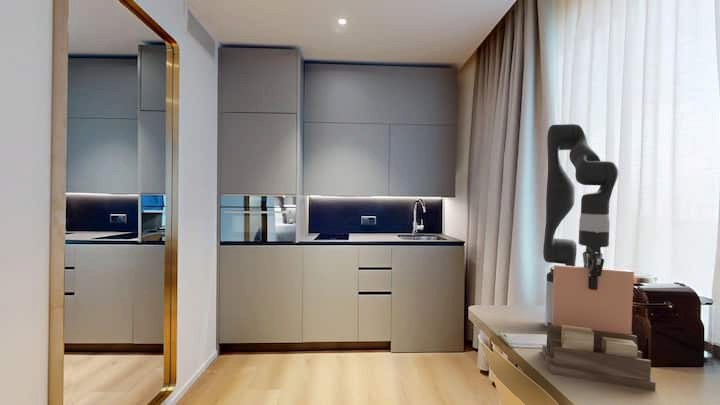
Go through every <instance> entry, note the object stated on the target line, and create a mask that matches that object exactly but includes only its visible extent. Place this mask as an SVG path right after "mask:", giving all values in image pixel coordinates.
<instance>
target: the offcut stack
mask: <svg viewBox="0 0 720 405" xmlns="http://www.w3.org/2000/svg"><path fill="white" fill-rule="evenodd" d="M593 345H594V332H593V331H592V330H591V329H590V328H585V327H577V326H568V325H562V339H561V348H568V349H575V350H582V351H590V352H593ZM637 351H638V344H637V345H636V344H635V343H634V342H633V341H631V340H623V339H615V338H607V337H602V353H604V354H611V355H618V356H625V357H633V358H637Z"/></svg>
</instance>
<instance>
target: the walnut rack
mask: <svg viewBox="0 0 720 405" xmlns="http://www.w3.org/2000/svg"><path fill="white" fill-rule="evenodd" d="M592 331H593V332H594V345H593V352H590V351H582V350H575V349H568V348H561V339H562V326H554V325H552V322H549V321H547V327H546V335H547V346H545V345H542V349H541V352H542V355H543V357H544V360H545V363H546V366H547V369H548V368H549V369H548V371H550V372H549V374H550V373H553V374H552V375H556V374H559V375H558V376H562V375H563V376H564V377H571V378H575V379H581V380H589V381H595V382H601V383H608V384H615V385H619V386H626V387H631V388H637V389H644V390H649V391H656V386H657V385H656V384H657V383H656V381H655V380H654V379H653V378H652V377H651V374H652V373H651V370H652V360H650V359H647V358H646V359H645V358H643V355H642V354H643V352H642V351H640V350H637V358H633V357H625V356H618V355H611V354H604V353H602V337H607V338H615V339H623V340H631V341H633V342H634V343H635V344H636V345H637V346H638V336H637V335H634V334H633V331H631V335H627V334H619V333H611V332H603V331H595V330H592Z"/></svg>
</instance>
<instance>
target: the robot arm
mask: <svg viewBox="0 0 720 405" xmlns="http://www.w3.org/2000/svg"><path fill="white" fill-rule="evenodd" d="M546 142H547V144H546V146H547V147H546V148H547V149H546V150H547V181H546V194H545V195H546V196H545V197H546V198H545V205H546V206H545V214H546V215H545V228H544V229H545V230H544V238H543V240H544V241H543V249H542V253H543V259H544V262H546V263H549V264H550V263H551V264H558V265H559V264H561V265H564V266H576V262H577V261H576V260H577V243H576V241H575V240H574V239H569V238H554V236H555V234H556V231H557V229H558V227H559V226H560V225H561V223H562V221H563V220H564V219H565V218H566V216H568V214H569V213H570V212H571V211H572V209H573V207H574V205H575V198H576V197H575V193H576V187H575V184H574V181H573V179H572V178H571V176H570V175H569V174H568V172H567V171H566V169H565V168H564V166H563V164H562V161H561V158H560V153H559V152H560V151H570V152H569V160H570V163H571V164H572V165H573V166H574V168H575V179H576V182H577V183H578V184H580V185H583V186H599V188H598V190H597V191H595V192H590V193H586V194H583V195H582V196H581V198H580V199H581V200H580V217H579V227H578V244H579V245H580V246H585V250H584V251H583V252H582V259H583V261H582V262H583V267H587V268H588V269H589V273H588V275H589V281H588V288H589V289H590V290H597V288H598V277H599V276H601V273H602V268H603V269H604V265H605V264H604V263H605V258H603V253H602V251H601V248H607V247H609V245H610V244H609V243H610V203H611V202H610V201H611V197H612V194H613V191H614V187H615V185H616V183H617V180H618V176H619V168H618V167H617V165H616V163H614V162H612V161H608V160H607V161H605V160H603V161H601V158H600V156H599V155H598V154H597V153H596V151H595V150H594V149H593V148H592V147H591V145H590V143H589V140H588V138H587V135H586V133H585V131H584V129H583V127H582V126H581V125H580V124H575V123H568V124H567V123H565V124H552V125H550V126H549V127H548V131H547V141H546ZM594 270H596V271H594ZM553 277H554V270H553V271H549V272H548V273H547V274H546V282H545V283H546V284H545V286H546V287H545V310H544V312H545V314H544V315H545V316H544V326H545V327H546V328H547V321H549V322H552V304H553Z"/></svg>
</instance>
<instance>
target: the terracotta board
mask: <svg viewBox="0 0 720 405" xmlns="http://www.w3.org/2000/svg"><path fill="white" fill-rule="evenodd" d="M553 271H554V277H553V304H552V325H554V326H562V325H568V326H577V327H585V328H590V329H591V330H595V331H603V332H611V333H619V334H627V335H631V332H632V328H633V327H632V324H633V303H634V302H633V299H634V279H635V277H634V276H635V274H634V273H635V271H633V270H629V269H628V270H626V269H615V268H613V269H612V268H604V267H603V268H602V273H601V276H599V277H598V288H597V290H590V289H589V288H588V281H589V275H588V273H589V269H588V268H587V267H584V266H576V265H575V266H565V265H564V264H561V265H559V264H554V265H553ZM594 271H596V270H594Z"/></svg>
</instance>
